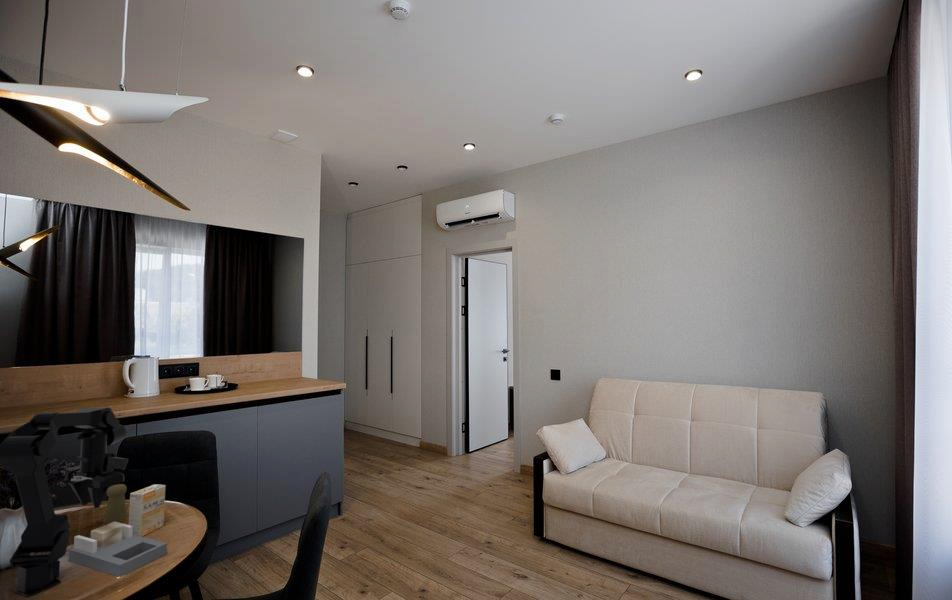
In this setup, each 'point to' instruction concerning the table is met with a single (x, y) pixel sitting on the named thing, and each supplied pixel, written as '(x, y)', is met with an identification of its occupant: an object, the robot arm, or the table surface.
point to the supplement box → (147, 509)
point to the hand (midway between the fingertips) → (90, 506)
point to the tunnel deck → (117, 552)
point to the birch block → (107, 535)
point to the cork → (116, 504)
